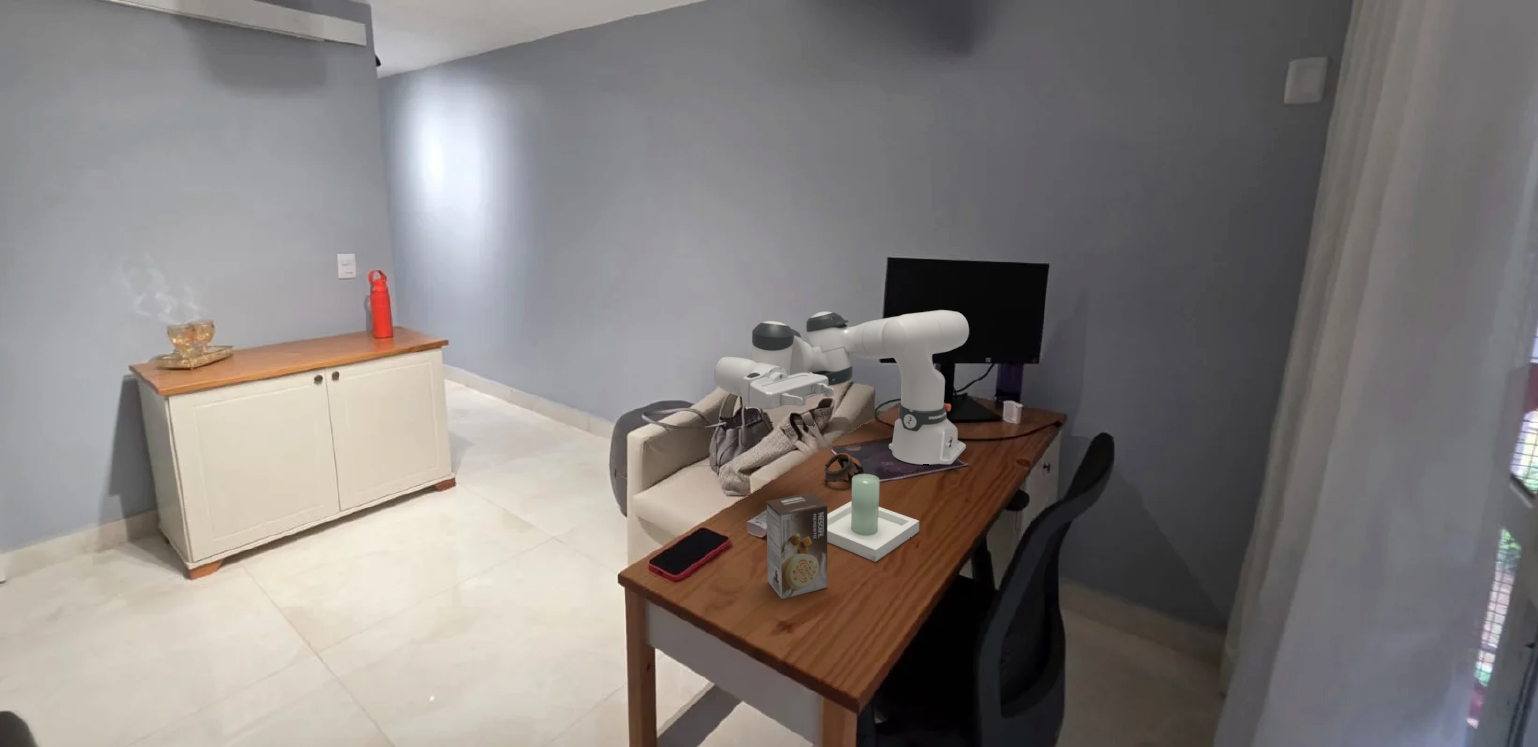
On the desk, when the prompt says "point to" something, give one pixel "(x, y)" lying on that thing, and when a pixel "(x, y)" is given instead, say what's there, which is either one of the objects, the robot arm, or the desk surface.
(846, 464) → the pottery mug
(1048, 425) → the desk surface
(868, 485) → the green cylinder
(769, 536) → the coffee box
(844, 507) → the tray
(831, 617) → the desk surface
